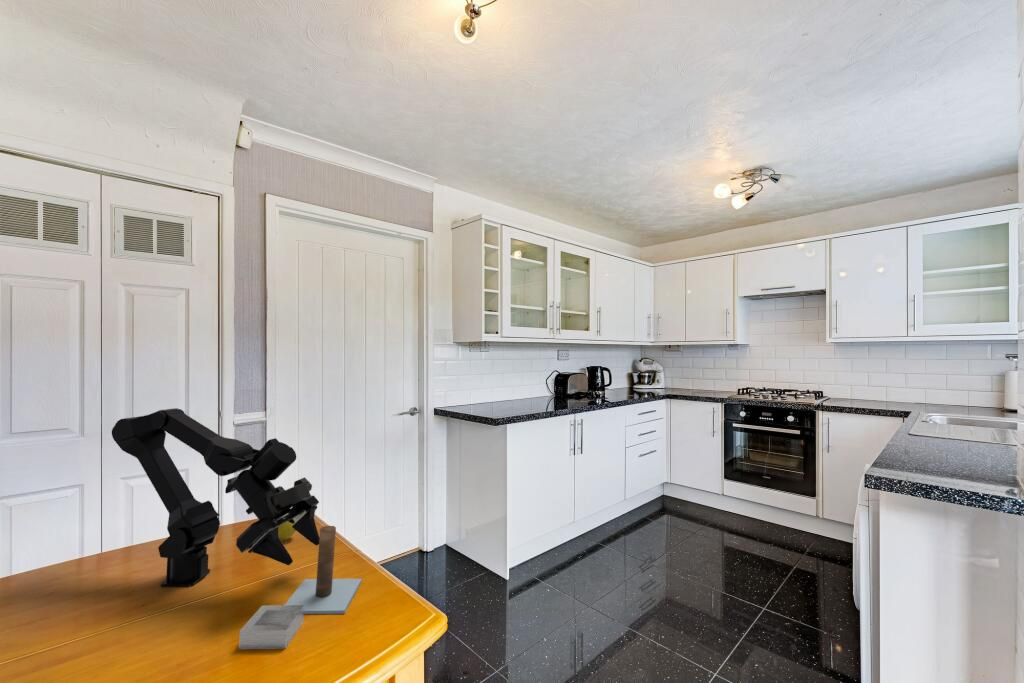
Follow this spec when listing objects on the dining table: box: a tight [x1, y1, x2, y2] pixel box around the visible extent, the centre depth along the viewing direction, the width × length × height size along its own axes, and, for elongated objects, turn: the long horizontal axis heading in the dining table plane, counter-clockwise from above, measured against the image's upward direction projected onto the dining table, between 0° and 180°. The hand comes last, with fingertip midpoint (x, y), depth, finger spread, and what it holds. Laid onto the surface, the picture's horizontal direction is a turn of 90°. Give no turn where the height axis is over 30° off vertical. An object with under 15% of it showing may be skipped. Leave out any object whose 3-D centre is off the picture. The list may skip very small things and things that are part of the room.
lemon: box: [276, 518, 297, 541], centre depth 117 cm, size 6×6×8 cm
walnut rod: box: [316, 525, 337, 598], centre depth 91 cm, size 3×3×13 cm
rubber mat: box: [284, 578, 363, 615], centre depth 90 cm, size 12×12×1 cm
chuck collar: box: [238, 604, 305, 650], centre depth 78 cm, size 8×8×3 cm
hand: (305, 553), depth 91 cm, fingers open, 9 cm apart
